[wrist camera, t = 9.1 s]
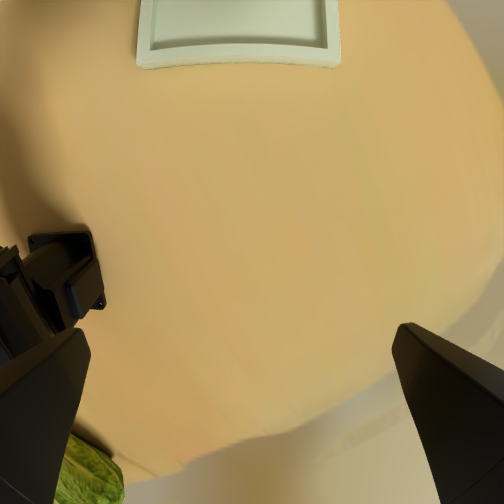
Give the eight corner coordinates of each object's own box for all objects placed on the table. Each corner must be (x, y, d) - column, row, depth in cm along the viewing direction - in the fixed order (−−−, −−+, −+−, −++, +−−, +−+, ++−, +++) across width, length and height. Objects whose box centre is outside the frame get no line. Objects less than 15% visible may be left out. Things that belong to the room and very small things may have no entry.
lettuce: (-11, 386, 29) (11, 347, 27) (99, 476, 35) (145, 459, 33) (-52, 439, 15) (-48, 413, 13) (80, 538, 21) (129, 539, 19)
